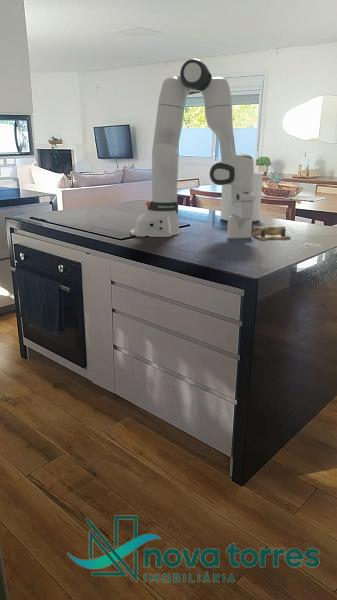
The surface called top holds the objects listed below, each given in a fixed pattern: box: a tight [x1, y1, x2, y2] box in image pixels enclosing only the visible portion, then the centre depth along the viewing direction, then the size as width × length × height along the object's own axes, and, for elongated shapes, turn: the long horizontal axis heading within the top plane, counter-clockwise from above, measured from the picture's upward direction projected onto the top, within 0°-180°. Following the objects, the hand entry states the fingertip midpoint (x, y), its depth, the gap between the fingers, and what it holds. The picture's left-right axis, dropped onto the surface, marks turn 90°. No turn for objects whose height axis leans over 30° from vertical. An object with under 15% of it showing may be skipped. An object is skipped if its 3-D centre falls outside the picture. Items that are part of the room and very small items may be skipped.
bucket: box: [220, 170, 265, 224], centre depth 231 cm, size 26×22×24 cm
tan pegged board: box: [251, 225, 291, 241], centre depth 195 cm, size 14×10×4 cm
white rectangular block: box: [226, 216, 253, 239], centre depth 193 cm, size 10×2×9 cm, turn 98°
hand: (239, 226), depth 193 cm, fingers open, 3 cm apart
